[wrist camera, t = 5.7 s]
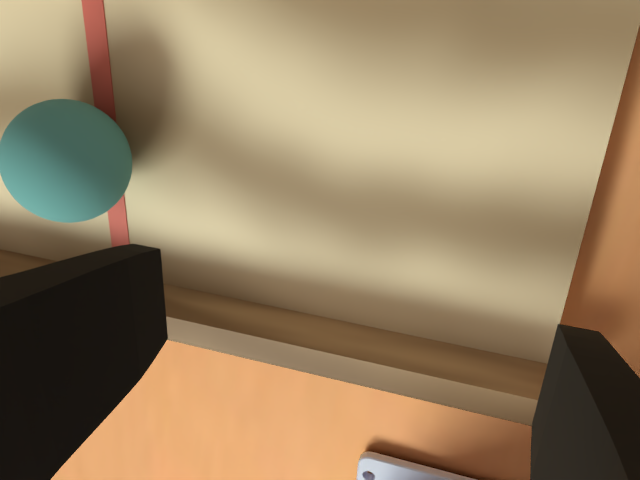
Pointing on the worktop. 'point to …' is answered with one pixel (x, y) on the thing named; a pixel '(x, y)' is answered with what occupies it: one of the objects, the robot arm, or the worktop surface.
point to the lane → (341, 174)
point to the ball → (65, 160)
